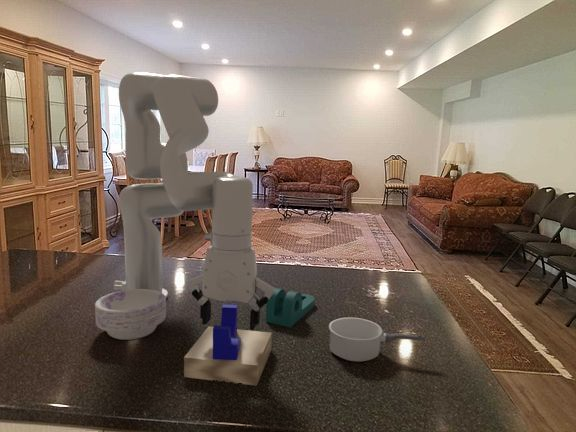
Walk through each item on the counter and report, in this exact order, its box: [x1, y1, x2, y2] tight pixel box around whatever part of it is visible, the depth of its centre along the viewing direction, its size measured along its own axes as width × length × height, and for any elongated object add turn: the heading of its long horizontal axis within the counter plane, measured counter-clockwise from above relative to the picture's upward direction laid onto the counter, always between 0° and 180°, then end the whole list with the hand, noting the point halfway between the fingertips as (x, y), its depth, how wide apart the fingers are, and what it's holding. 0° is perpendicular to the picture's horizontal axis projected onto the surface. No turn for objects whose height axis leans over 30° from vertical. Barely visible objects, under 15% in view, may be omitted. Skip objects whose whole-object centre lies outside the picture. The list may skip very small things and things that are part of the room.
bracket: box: [265, 287, 315, 328], centre depth 115 cm, size 18×7×8 cm, turn 155°
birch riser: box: [183, 325, 273, 386], centre depth 88 cm, size 14×14×4 cm
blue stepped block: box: [213, 304, 241, 360], centre depth 87 cm, size 12×4×6 cm, turn 179°
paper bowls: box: [94, 289, 167, 341], centre depth 100 cm, size 15×15×8 cm
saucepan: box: [328, 317, 426, 363], centre depth 93 cm, size 12×20×6 cm, turn 77°
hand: (229, 324), depth 87 cm, fingers open, 9 cm apart
